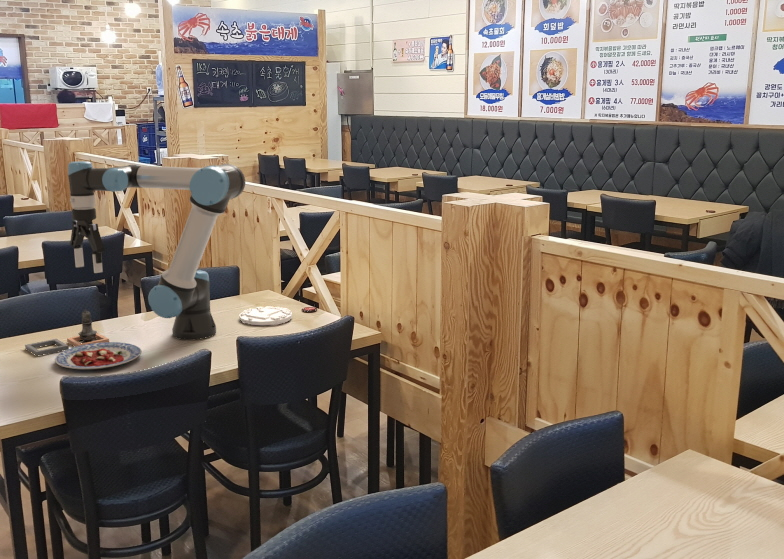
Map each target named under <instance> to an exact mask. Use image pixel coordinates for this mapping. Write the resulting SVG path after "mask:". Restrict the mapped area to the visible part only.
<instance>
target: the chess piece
mask: <svg viewBox="0 0 784 559" xmlns="http://www.w3.org/2000/svg"><path fill="white" fill-rule="evenodd" d="M91 314H92V313H91V312H90V311H88V309H87V308H85V309H84V311H82V312H81V322H80V324H81V326H82V327H81V328H82V329H81V330H80V331H79V332H78V336H80V338H81V339H82V340H83V341H80V343H86V342H91V341H96V338H95V337H96V333H98V332H97V330H94V329H93V324H92V323H93V321H92V315H91Z"/></svg>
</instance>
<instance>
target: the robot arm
mask: <svg viewBox="0 0 784 559" xmlns="http://www.w3.org/2000/svg"><path fill="white" fill-rule="evenodd" d="M67 173H68V174H67V176H68V184H69V189H70V190H69V191H70V192H69V194H70V199H69V202H70V206H71V208H72V209H71V216H72V221H71V225H72V228H71V234H70V242H69V245H70V246H71V247H72V249H73V251H74V263H75V265H74V266H75V268H83V267H85V261H84V250H83V248H84V247H83V243H84V239H85V238H86V239H87V241H88V243H89V245H90V247H91V249H92V253H91V255H92V263H93V264H92V265H93V266H92V267H93V273H94V274H98V273H103V272H104V271H103V259H102V258H103V257H102V254H103V253H105V251H106V249H105V247H104V243H103V240H102V237H101V233H100V229H99V224H98V223H93V220H96V219H97V212H96V211H97V210H96V197H95V192H96V191H97V192H99V191H100V192H111V193H114V192H122V191H125V189H130V188H136V189H161V190H162V189H163V190H164V189H165V190H185V191H187V190H188V191H190V196H189V197H190V198H189V202H190V204H191V209H190V211H189V213H188V217H187V218H186V222H185V225H184V228H183V229H182V233H181V236H180V239H179V241H178V243H177V247H176V248H175V249H176V250H175V251H174V254H173V257H172V260H171V262H170V265H169V268H168V269H166V270H163V271H162V273H161V275H160V278H159V282H158V284H157V285H154V286H153V288H151V289H150V290H149V292H148V297H147V299H148V300H147V301H148V304H149V306H150V308H151V311H152V312H153V313H154V314H155V315H157V316H158V317H160V318H163V319H172V318H175V319H174V322H173V325H172V331H171V332H172V337H174V338H176V339H179V340H185V339H186V340H188V341H189V340H190V341H191V340H193V339H195V340H201V339H200V338H203V339H206V338H205V337H208V338H210V337H209V336H211V337H213V336H215V335H216V334H217V325H216V323H215V320H214V317H213V315H212V312H211V298H210V297H211V291H210V277H209V273H208V272H207V271H205V270H201V269H200V270H198V269H199V266H200V263H201V260H202V259H203V255H204V253H205V251H206V248H207V245H208V242H209V240H210V238H211V235H212V232H213V230H214V227H215V225H216V222H217V221H218V217H219V216H221V215H223V214H224V213H225V212H226V209H227V207H228V205H229V202H230V200H233V199H236V198H238V197H239V196H240V195H241V194H242V193H243V192H244V190H245V188H246V177H245V174H244V172H243V171H242V170H241V168H240V167H238V166H236V165H234V164H230V163H222V164H217V165H214V164H211V165H207V166H205V167H204V166H203V167H183V166H181V167H180V166H159V165H158V166H155V165H154V166H152V165H140V164H128V165H122V166H113V167H102V168H101V167H98V168H96V167H93V164H92V162H91V161H87V160H85V161H84V160H82V161H81V160H80V161H70V162H69V163H68V165H67ZM215 333H216V334H215ZM214 334H215V335H214ZM212 335H213V336H212ZM186 340H185V341H186Z"/></svg>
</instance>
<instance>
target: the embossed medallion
mask: <svg viewBox="0 0 784 559" xmlns="http://www.w3.org/2000/svg"><path fill="white" fill-rule="evenodd" d="M292 318H293V312H292V310H290V309H289V308H287V307H282V306H275V307H274V306H272V305H267V306H265V307H264V306H256V307H255V308H248V309H244V310H243V311H242V312H240V313H239V315H238V319H240V320H241V321H242V322H241V321H240V320H239V321H240V322H241V323H243V322H244V323H243V324H245V323H248V324H247V325H249V324H251V325H250V326H278V325H279V324H281V325H282V323H283V324H286V323H285V322H287V323H288V321H290V319H291V320H292Z"/></svg>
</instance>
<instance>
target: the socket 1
mask: <svg viewBox="0 0 784 559" xmlns="http://www.w3.org/2000/svg"><path fill="white" fill-rule="evenodd" d="M51 344H54V345H55V344H56V345H57V346H56V345H55V346H54V347H48V348H45V349H38V348H35V347H39V348H41V347H40V346H44V347H46V346H45V345H49V346H52V345H51ZM24 347H25V350H26V349H27V350H26V351H28V350H29V351H30V352H29V351H28V352H29V353H31V352H32V353H33V354H32V353H31V354H32V355H34V354H35V355H36V356H35V355H34V356H35V357H39V356H38V355H42V356H44V355H43V354H47V355H49V354H48V353H51V354H54V353H53V352H56V353H59V352H58V351H61V352H63V351H62V350H68V349H70V348H69V345H68V344H66V343H65V342H63V341H61V340H59V339H57V338H53V339H48V340H44V341H39V342H33V343H27V344H24Z"/></svg>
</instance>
